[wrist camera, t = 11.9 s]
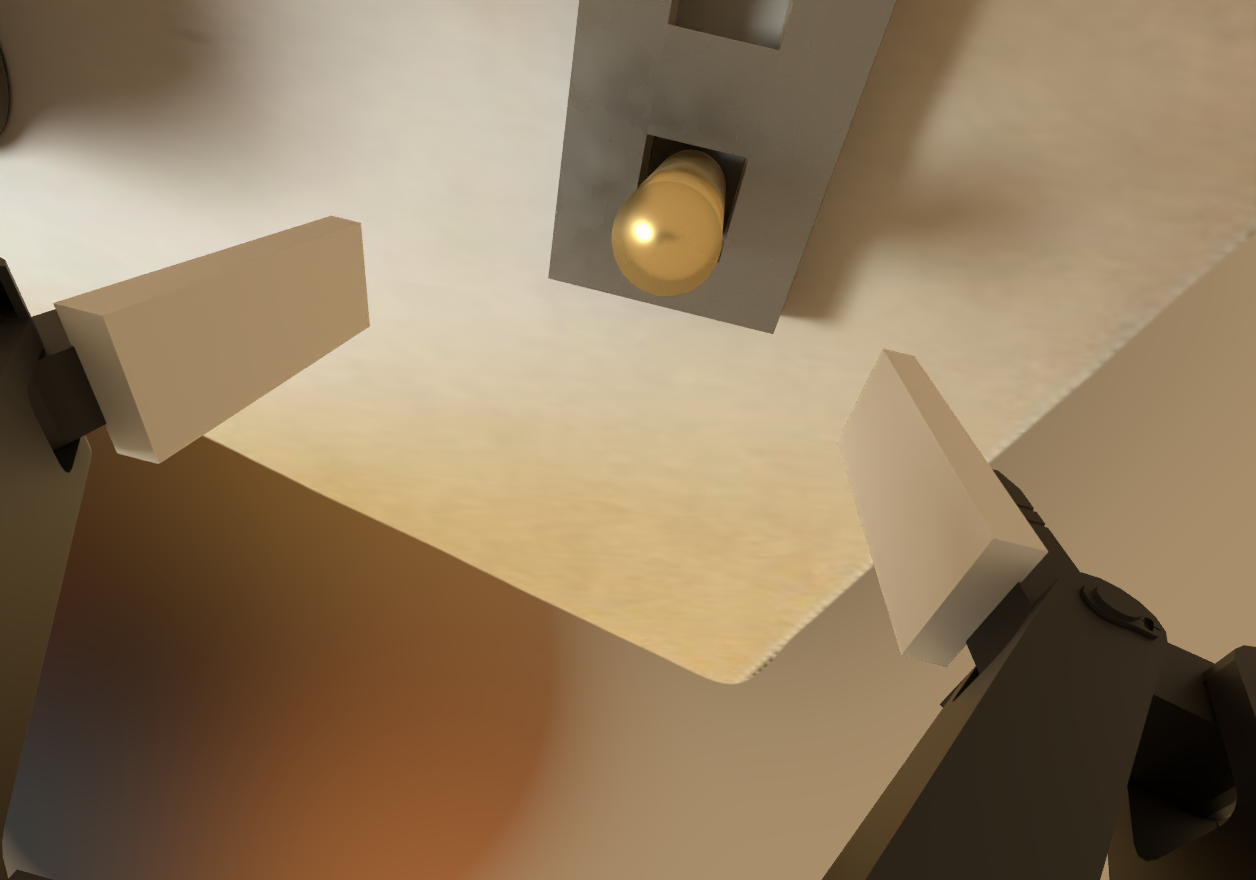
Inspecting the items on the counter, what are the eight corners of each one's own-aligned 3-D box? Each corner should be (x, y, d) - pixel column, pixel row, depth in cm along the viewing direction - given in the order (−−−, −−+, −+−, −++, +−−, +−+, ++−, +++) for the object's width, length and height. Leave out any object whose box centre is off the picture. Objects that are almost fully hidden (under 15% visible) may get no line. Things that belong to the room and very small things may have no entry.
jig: (563, 263, 36) (548, 278, 33) (626, -237, 24) (611, -282, 21) (769, 314, 36) (773, 334, 33) (942, -168, 23) (972, -205, 20)
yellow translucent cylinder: (644, 220, 34) (603, 282, 23) (660, 141, 31) (622, 168, 20) (713, 237, 34) (704, 307, 23) (735, 159, 31) (736, 196, 20)
